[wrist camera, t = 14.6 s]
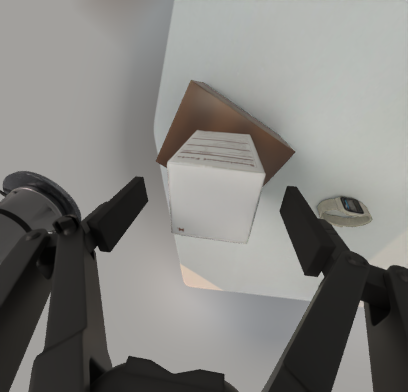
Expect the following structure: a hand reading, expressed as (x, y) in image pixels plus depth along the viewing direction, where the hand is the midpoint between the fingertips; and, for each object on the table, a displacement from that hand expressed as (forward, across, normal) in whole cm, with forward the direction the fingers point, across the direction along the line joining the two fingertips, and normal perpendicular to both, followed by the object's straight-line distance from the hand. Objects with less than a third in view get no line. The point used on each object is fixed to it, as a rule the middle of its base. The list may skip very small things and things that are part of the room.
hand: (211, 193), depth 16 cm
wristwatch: (+20, +26, -14) cm, 36 cm away
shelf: (+20, 0, 0) cm, 20 cm away
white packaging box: (+10, 0, 0) cm, 10 cm away
